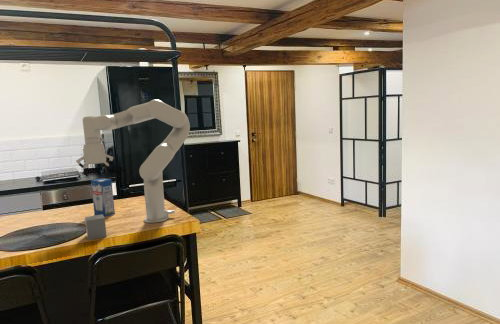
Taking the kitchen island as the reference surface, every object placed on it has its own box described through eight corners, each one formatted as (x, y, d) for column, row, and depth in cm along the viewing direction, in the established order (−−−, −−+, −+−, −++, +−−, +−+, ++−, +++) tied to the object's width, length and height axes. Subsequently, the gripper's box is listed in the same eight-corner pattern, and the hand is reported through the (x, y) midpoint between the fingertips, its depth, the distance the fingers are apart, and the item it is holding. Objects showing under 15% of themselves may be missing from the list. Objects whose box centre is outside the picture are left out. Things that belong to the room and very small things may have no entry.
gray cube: (104, 232, 173) (102, 214, 172) (106, 236, 166) (104, 217, 165) (86, 235, 169) (84, 217, 168) (88, 240, 163) (86, 220, 161)
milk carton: (115, 214, 206) (111, 179, 203) (105, 217, 201) (101, 181, 198) (104, 212, 211) (100, 178, 209) (94, 215, 206) (90, 180, 204)
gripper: (110, 139, 189) (113, 172, 191) (73, 142, 180) (77, 176, 183) (112, 140, 182) (116, 173, 184) (74, 143, 174) (78, 178, 176)
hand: (96, 175), depth 183 cm, fingers open, 9 cm apart
